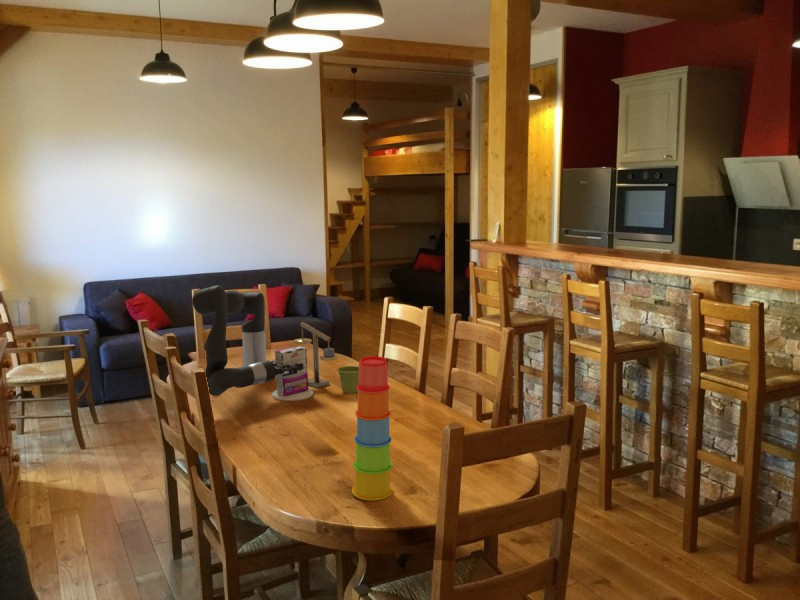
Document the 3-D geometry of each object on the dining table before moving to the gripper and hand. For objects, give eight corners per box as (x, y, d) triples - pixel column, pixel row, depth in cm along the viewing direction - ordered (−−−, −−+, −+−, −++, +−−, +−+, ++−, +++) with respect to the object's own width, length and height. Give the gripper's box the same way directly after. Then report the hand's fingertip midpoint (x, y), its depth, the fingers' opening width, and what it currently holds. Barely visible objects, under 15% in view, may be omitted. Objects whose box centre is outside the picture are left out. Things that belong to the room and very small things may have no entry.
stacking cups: (394, 484, 185) (392, 353, 180) (391, 501, 175) (388, 363, 170) (354, 483, 186) (351, 353, 181) (349, 501, 176) (345, 363, 170)
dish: (264, 395, 266) (263, 393, 266) (295, 387, 277) (295, 384, 276) (289, 403, 256) (289, 400, 256) (321, 394, 267) (321, 391, 266)
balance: (291, 381, 285) (289, 322, 281) (305, 377, 290) (303, 320, 286) (329, 391, 270) (327, 329, 266) (343, 387, 275) (341, 326, 271)
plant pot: (364, 388, 274) (364, 365, 272) (361, 395, 265) (360, 372, 263) (340, 387, 275) (339, 365, 273) (335, 394, 265) (335, 372, 264)
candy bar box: (300, 388, 272) (299, 345, 269) (308, 390, 268) (307, 347, 265) (275, 394, 264) (274, 350, 261) (283, 396, 260) (282, 352, 258)
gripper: (271, 365, 249) (307, 357, 260) (246, 359, 258) (283, 351, 270) (272, 386, 250) (308, 377, 261) (247, 379, 259) (283, 371, 271)
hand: (295, 364), depth 266 cm, fingers open, 8 cm apart
